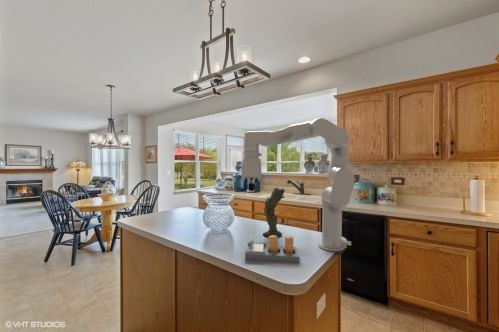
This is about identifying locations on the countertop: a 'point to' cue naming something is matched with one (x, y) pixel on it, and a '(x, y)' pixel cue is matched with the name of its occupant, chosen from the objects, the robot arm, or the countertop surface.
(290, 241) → the orange rounded peg
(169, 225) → the countertop surface
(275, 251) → the orange rounded capsule
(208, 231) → the countertop surface
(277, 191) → the green twisted sculpture
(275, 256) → the housing
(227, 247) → the countertop surface
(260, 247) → the lid
